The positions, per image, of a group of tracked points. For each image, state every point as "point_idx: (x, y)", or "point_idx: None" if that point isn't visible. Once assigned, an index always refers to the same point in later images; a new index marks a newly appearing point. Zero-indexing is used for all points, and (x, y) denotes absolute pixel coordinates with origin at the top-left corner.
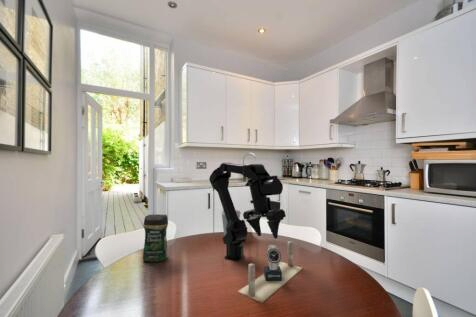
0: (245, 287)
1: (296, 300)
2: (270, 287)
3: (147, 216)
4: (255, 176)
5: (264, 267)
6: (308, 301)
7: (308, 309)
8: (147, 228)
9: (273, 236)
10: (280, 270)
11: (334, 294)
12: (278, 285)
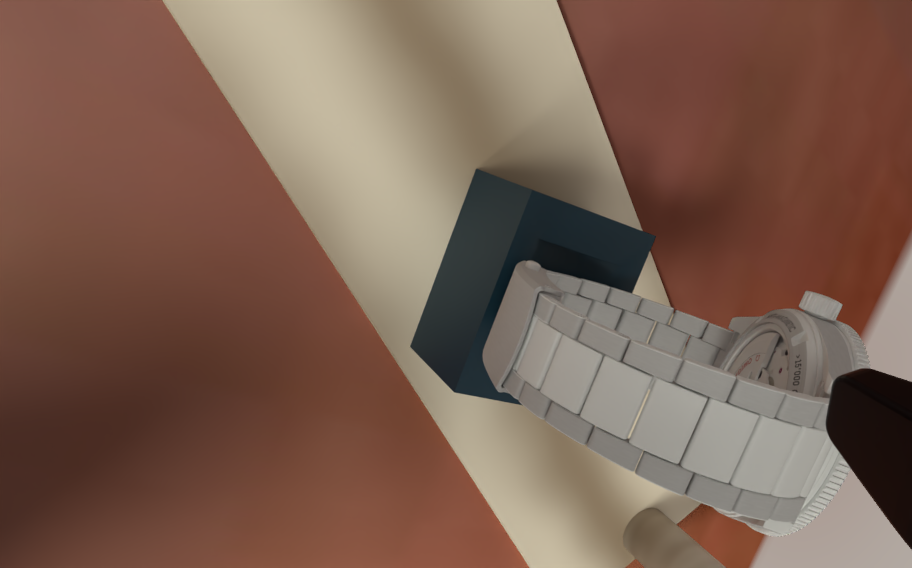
0: (542, 563)
1: (820, 237)
2: None
3: None
4: None
5: (489, 397)
6: (866, 158)
7: (905, 214)
8: None
9: (875, 498)
10: (630, 237)
11: None
12: (638, 283)
